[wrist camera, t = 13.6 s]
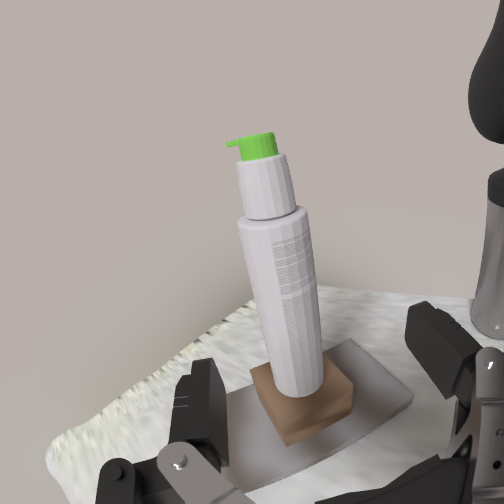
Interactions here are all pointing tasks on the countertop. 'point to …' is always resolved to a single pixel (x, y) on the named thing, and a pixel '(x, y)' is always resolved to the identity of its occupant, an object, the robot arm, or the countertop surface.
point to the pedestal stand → (307, 417)
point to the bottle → (280, 266)
